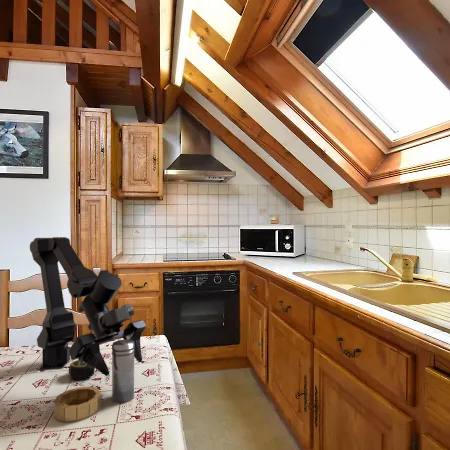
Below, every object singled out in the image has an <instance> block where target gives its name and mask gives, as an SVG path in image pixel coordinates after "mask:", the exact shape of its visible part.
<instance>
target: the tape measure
mask: <svg viewBox="0 0 450 450" xmlns="http://www.w3.org/2000/svg"><path fill="white" fill-rule="evenodd" d="M95 369H96V368H94V367H93V366H91V365H89V364H87V363H86V362H84V361H78V359H76V360H73V362H71V363H70V364H69V366H68V375H69V377H70V378H71V379H73V380H83V379H86V378H90V377H94V375H95Z"/></svg>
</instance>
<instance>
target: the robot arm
mask: <svg viewBox="0 0 450 450" xmlns="http://www.w3.org/2000/svg"><path fill="white" fill-rule="evenodd" d="M29 251H30V253H31V255H32V260H33V261H34V262H35V263H36V264H37V265H38V266H39V267H40V274H41V279H42V280H41V282H42V287H43V288H42V289H43V292H44V294H43V295H44V301H45V308H46V314H45V316H44V319H43V321H42V323H41V325H42V328H41V329H42V330H41V331H40V332H39V335H38V336H37V338H36V344H37V347H39V348H41V349H42V354H41V356H42V357H41V358H42V360H41V362H42V364H41V366H39V370H49V369H51V370H52V369H63V368H64V367H65V366H66V365H67V364H69V362H70V361H71V360H72V361H76V360H78V361H84V362H86V363H87V364H89V365H91V366H93V367H94V368H95V369H96V370H97V371H98V372H100V373H101V374H103V375H104V376H105V377H108V376H109V375H110V370H109V367H108V365H107V363H106V361H105V358H104V357H103V355H102V353H101V349H100V348H101V347H100V345H103V344H107V343H110V342H113V341H118V340H121V339H122V340H133V341H134V345H135V347H134V349H135V351H134V360H136V361H137V362H138V364H139V363H142V361H143V355H142V347H141V346H142V345H141V337H142V335H143V333H144V332H145V330H146V329H147V327H148V326H147V324H146V323H145V321H144V320H143V319H138V320H134V321H129V320H131V317H133V316H134V315H135V310H134V307H133V306H132V305H131V303H126V304H124V305H121V307H120V308H114V309H111V308H110V307H109V305H108V304H109V303H110V302H111V301H113V299H114V297H115V296H116V294H117V293H118V292H119V290H120V289H121V287H122V284H123V283H122V282H123V281H122V279H121V278H120V277H119V276H118V275H116V274H114V273H112V272H110V271H109V269H101V270H100V271H99V273H98V275H97V274H96V273H95V271H93V270H91V269H90V268H87V267H85V265H84V263H83V262H82V260H81V259H80V258H79V256H78V254H77V252H76V251H75V250H74V248H73V246H72V244H71V240H70V239H69V238H68V237H67V236H56V237H55V236H53V237H35V238H34V239H33V240H32V241H30V244H29ZM59 264H60V266H61V267H62V269H63V271H64V273H65V274H66V276H67V283H66V287H67V289H68V290H67V291H68V293H69V294H70V296H71V297H72V298H73V299H81V298H83V300H82V301H81V302H80V306H79V307H78V312H79V313H83V312H84V315H85V316H86V320H87V321H88V325H87V329H88V330H89V331H90V330H91V331H92V332H93V333H92V332H90V333H89V332H88V333H86V334H82V335H78V336H77V337H76V338H75V334H76V329H77V327H76V323H75V320H74V318H75V317H74V314H73V312H71V311H69V310H67V309H66V307H65V301H64V295H63V294H64V293H63V288H62V281H61V275H60V269H59ZM126 321H129V323H128V324H127V325H126V327H125V328H123V326H124V324H125V323H124V322H126ZM121 328H123V329H121ZM74 339H75V340H74ZM72 342H73V343H72ZM69 343H72V344H71V346H69Z"/></svg>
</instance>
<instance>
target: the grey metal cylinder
mask: <svg viewBox="0 0 450 450" xmlns="http://www.w3.org/2000/svg"><path fill="white" fill-rule="evenodd" d="M134 347H135V345H134V341H133V340H124V339H118V340H115V341H114V342H112V347H111V357H112V358H111V361H112V362H111V365H112V366H111V368H112V369H111V371H112V372H111V375H112V376H111V401H112V403H114V404H119V405H122V404H126V403H129V402H131V401H132V400H133V399H134V398H135V357H134V351H135V349H134Z"/></svg>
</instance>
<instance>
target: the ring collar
mask: <svg viewBox="0 0 450 450" xmlns="http://www.w3.org/2000/svg"><path fill="white" fill-rule="evenodd" d="M101 397H102V391H100V389H99V388H97V387H93V386H80V387H75V388H71V389H68V390H66V391H63V392H62V393H60V394H58V395H57V396H56V398H55V399H54V401H53V415H54V419H55V420H56V421H58V422H61V423H74V422H79V421H83V420H86V419H87V418H88V419H89V418H90V417H92V416H93V415H95V414H96V413H98V411H99V410H100V408H101V404H102V398H101Z"/></svg>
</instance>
